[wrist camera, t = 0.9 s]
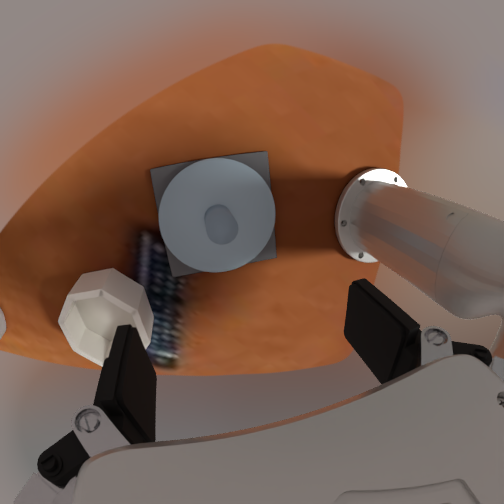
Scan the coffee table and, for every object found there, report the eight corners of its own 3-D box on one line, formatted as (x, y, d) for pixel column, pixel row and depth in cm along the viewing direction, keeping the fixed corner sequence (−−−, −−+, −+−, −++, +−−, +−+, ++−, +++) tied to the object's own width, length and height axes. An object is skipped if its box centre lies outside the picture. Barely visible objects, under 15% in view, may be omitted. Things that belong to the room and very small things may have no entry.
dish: (136, 263, 28) (128, 284, 24) (160, 335, 33) (158, 361, 28) (62, 277, 27) (46, 298, 22) (92, 344, 31) (84, 368, 26)
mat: (265, 151, 27) (267, 151, 27) (275, 255, 32) (276, 257, 31) (151, 169, 25) (150, 169, 25) (173, 274, 30) (172, 277, 29)
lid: (267, 151, 27) (283, 152, 22) (276, 257, 31) (291, 276, 27) (150, 169, 25) (141, 173, 20) (172, 277, 29) (170, 300, 25)
